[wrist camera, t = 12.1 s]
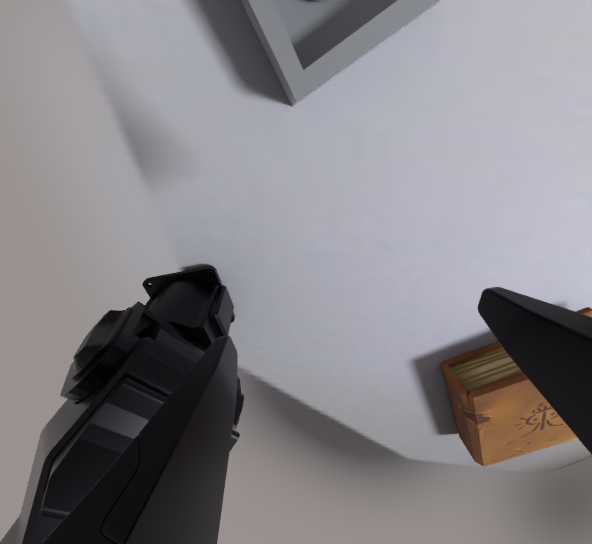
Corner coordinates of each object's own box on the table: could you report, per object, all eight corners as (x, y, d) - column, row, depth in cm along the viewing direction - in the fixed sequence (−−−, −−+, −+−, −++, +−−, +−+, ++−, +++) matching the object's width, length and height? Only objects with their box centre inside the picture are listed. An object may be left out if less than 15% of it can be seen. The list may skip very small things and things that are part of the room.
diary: (436, 359, 33) (466, 400, 28) (583, 304, 30) (646, 338, 25) (456, 431, 44) (480, 469, 39) (564, 396, 41) (604, 432, 36)
